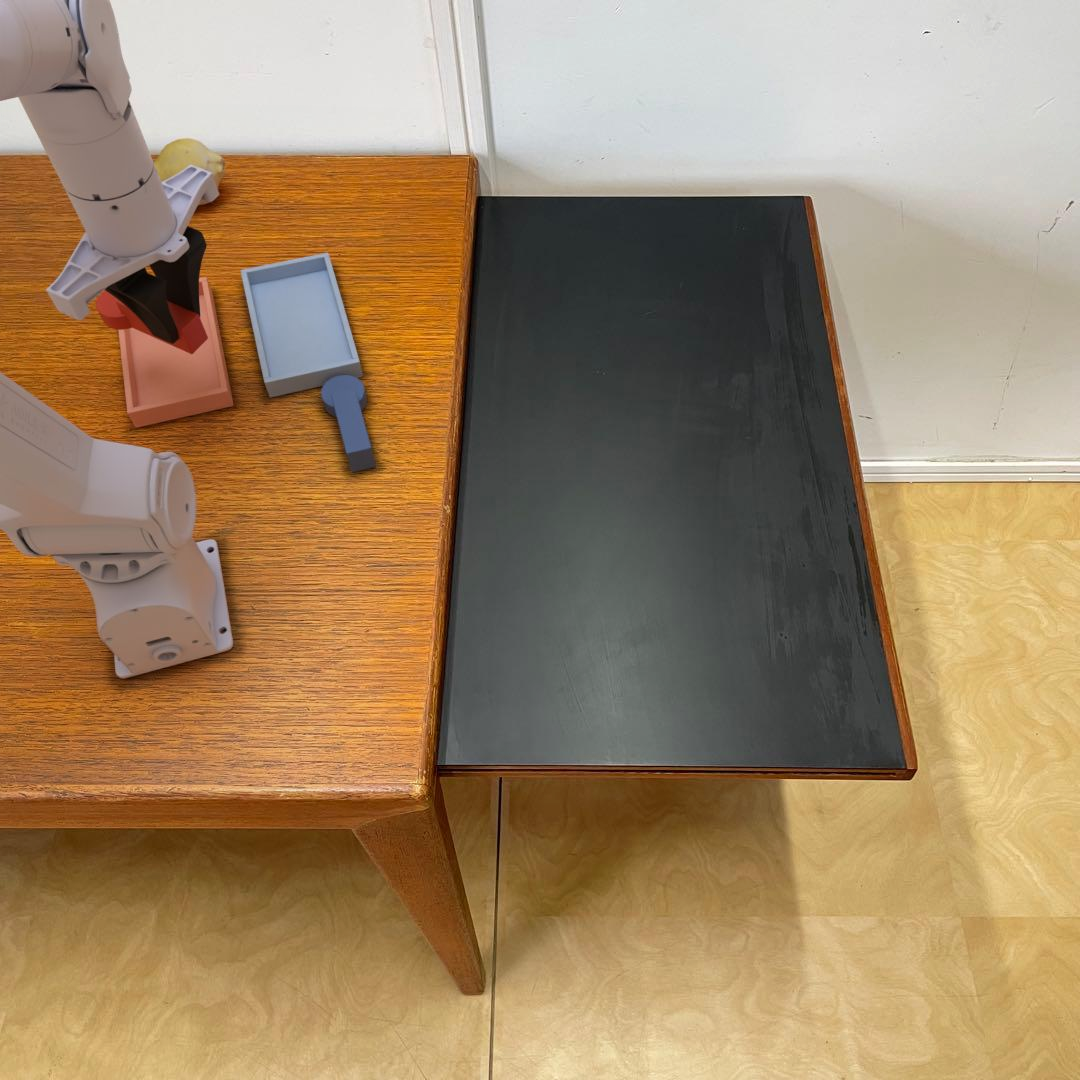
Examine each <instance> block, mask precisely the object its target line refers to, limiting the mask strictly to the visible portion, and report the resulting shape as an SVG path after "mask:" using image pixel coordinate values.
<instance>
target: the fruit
mask: <svg viewBox="0 0 1080 1080" xmlns="http://www.w3.org/2000/svg"><path fill="white" fill-rule="evenodd" d="M153 162H154V165H155V167H156V170H157V172H158V175H159V178H160V180H161V182H162V181H165V180H167V179H169V178H171V177H173V176H174V175H176V174H178V173H180V172H181V171H183V170H184V169H185V168H187V167H188V166H189V165H193V166H196V167H198V168H201V169H204V170H206V171H209V172H211V173H212V174H213V177H214V180H215V183H216V186H217V189H218V190H219V186H220V183H221V182H222V180H223V178H224V176H225V174H226V169H225V167H226V160H225V158H224V157H222V156H221V155H219V154H218V153H216V152H215V151H212V150H211V149H210V148H209V147H207V145H205V144H204V143H203V142H201V141H199V140H197V139H194V138H188V137H187V138H186V137H185V138H178V139H175V140H173V141H171V142H169V143H167V144H166V145H165V146H164V147H163V148H162V150H161V151H160V153H159V154H158V156H157V157H156V159H155V160H153ZM209 203H210V202H206V201H204V200H203V201H202V202H201V203H200V204H199V205H198V206H204V205H207V204H209Z"/></svg>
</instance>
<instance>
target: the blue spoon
mask: <svg viewBox="0 0 1080 1080" xmlns="http://www.w3.org/2000/svg"><path fill="white" fill-rule="evenodd" d="M320 397H321V400H322V404H323V407H324V410H325V411H326V412H327V413H328V414H329V415H330V416H331V417H334V418H336V419H337V420H336V421H337V424H338V428H339V432H340V435H341V438H342V439H341V440H342V443H343V446H344V451H345V454H346V458H347V462H348V465H349V469H350V473H356V472H360V471H365V470H369V469H373V468H376V466H377V465H376V461H375V456H374V451H373V448H372V444H371V440H370V437H369V433H368V430H367V427H366V422H365V418H364V415H363V411H364V409H365V408H366V406H367V404H368V403H367V402H368V397H367V393H366V389H365V385H364V383H363V381H362V380H361V379H359V378H356V377H354V376H350V375H340V376H336V377H333V378H331V379H330V380H328V381H327V382H326V383H325V384H324V385H323V386H321V389H320Z"/></svg>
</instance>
